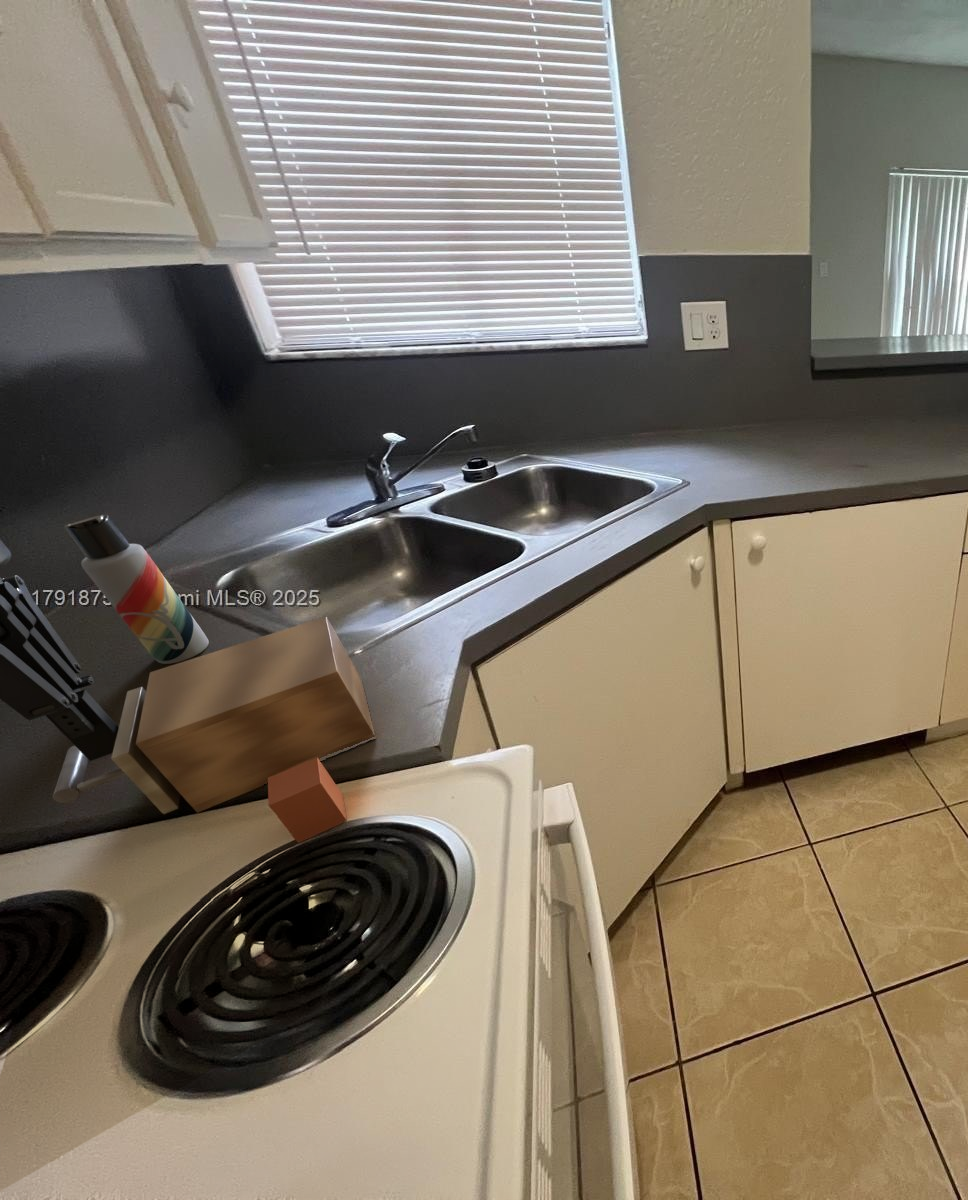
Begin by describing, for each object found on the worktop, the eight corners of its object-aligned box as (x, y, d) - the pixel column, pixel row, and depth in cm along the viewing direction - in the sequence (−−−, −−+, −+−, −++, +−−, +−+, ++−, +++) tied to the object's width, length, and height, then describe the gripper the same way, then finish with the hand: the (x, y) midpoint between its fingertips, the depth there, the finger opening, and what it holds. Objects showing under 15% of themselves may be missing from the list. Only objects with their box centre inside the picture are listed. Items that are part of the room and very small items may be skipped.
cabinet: (197, 813, 62) (135, 743, 57) (202, 738, 71) (149, 672, 65) (376, 739, 70) (337, 671, 64) (362, 679, 78) (326, 615, 73)
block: (298, 843, 59) (268, 805, 56) (295, 815, 61) (267, 777, 58) (347, 820, 61) (320, 782, 57) (342, 794, 63) (317, 757, 60)
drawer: (82, 847, 58) (20, 791, 54) (101, 771, 66) (48, 716, 61) (337, 744, 68) (302, 689, 63) (327, 688, 76) (295, 636, 71)
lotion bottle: (166, 670, 81) (59, 533, 70) (149, 656, 84) (43, 522, 73) (217, 646, 85) (123, 513, 74) (200, 634, 88) (107, 504, 77)
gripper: (-49, 548, 45) (153, 771, 58) (-1, 493, 54) (165, 697, 67) (-214, 585, 41) (41, 814, 54) (-133, 519, 50) (70, 729, 63)
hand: (109, 749), depth 61 cm, fingers closed
